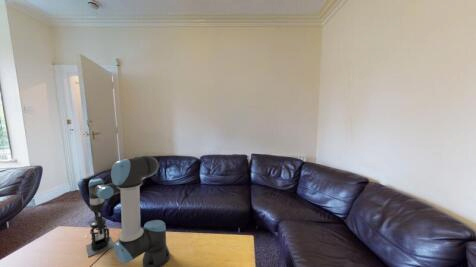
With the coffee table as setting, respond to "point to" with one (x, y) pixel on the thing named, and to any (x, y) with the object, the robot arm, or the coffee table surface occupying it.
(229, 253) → the coffee table surface
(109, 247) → the plate
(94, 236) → the black lantern
